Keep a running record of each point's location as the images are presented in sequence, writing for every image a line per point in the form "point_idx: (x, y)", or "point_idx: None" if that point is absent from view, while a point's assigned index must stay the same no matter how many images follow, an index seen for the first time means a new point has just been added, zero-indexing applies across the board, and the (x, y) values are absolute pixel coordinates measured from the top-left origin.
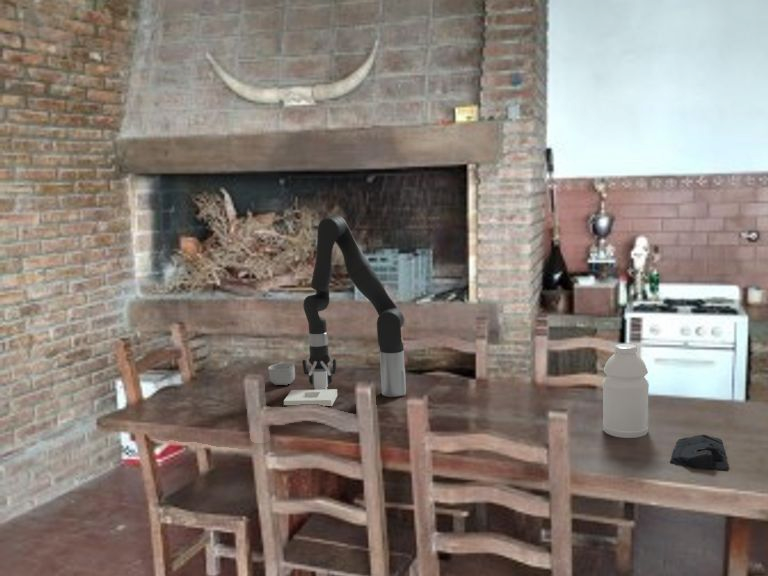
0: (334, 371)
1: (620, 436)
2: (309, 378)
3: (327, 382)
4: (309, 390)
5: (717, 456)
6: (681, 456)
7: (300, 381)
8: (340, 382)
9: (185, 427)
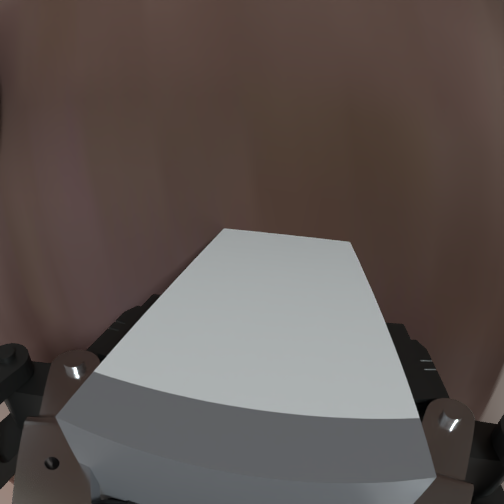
0: (480, 497)
1: None
2: None
3: (358, 261)
4: None
5: None
6: None
7: (52, 20)
8: (473, 78)
9: (9, 481)
